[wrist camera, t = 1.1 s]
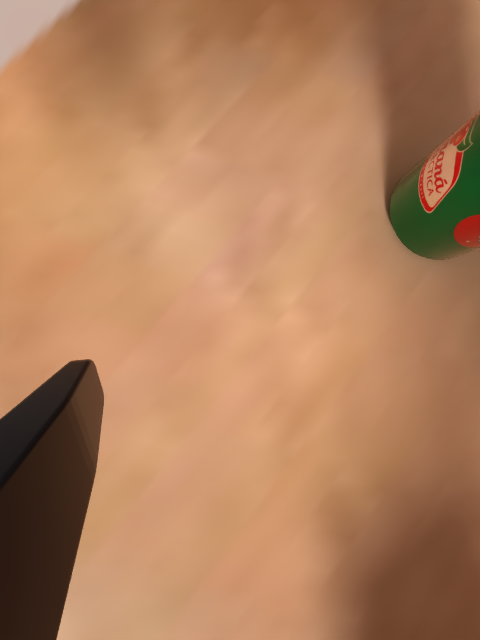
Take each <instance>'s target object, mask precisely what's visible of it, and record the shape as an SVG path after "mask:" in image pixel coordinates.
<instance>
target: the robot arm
mask: <svg viewBox="0 0 480 640" xmlns="http://www.w3.org/2000/svg"><path fill="white" fill-rule="evenodd" d="M103 406H104V394H103V389H102V386H101V383H100V379H99V376H98V373H97V369H96V366H95V364H94V362H93V361H92V360H90V359H87V360H75V361H71V362H69V363H68V364H66V365H65V366H64V367H63V368H62V369H60V370H59V371H58V372H57V373H55V374H54V375H53V376H52V377H51V378H49V379H48V380H47V381H46V382H45V383H43V384H42V385H41V386H40V387H39V388H37V389H36V390H35V391H34V392H33V393H31V394H30V395H29V396H28V397H27V398H25V399H24V400H23V401H22V402H20V403H19V404H18V405H17V406H16V407H14V408H13V409H12V410H11V411H10V412H8V413H7V414H6V415H5V416H4V417H2V418H1V419H0V640H56V639H57V635H58V631H59V626H60V622H61V618H62V614H63V609H64V605H65V601H66V597H67V593H68V588H69V584H70V580H71V576H72V572H73V567H74V563H75V559H76V555H77V550H78V546H79V542H80V538H81V534H82V529H83V525H84V521H85V517H86V513H87V508H88V504H89V500H90V496H91V492H92V487H93V483H94V478H95V473H96V467H97V460H98V451H99V442H100V433H101V424H102V415H103Z"/></svg>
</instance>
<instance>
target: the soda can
mask: <svg viewBox="0 0 480 640" xmlns="http://www.w3.org/2000/svg"><path fill="white" fill-rule="evenodd" d="M390 218H391V223H392V226H393V229H394V231H395V233H396V235H397V236H398V238H399V239H400V240H401V242H402V243H403V244H404V245H405V246H406V247H407V248H408V249H410V250H411V251H412V252H414V253H416V254H418V255H419V256H422V257H425V258H428V259H434V260H443V259H450V258H453V257H456V256H458V255H461V254H464V253H467V252H469V251H472V250H475V249H478V248H480V111H479V112H478V113H477V114H475V115H474V116H473V117H472V118H471V119H470V120H468V121H467V122H466V123H465V124H464V125H463V126H461V127H460V128H459V129H458V130H457V131H456V132H454V133H453V134H452V135H451V136H450V137H449V138H447V139H446V140H445V141H444V142H443V143H442V144H440V145H439V146H438V147H437V148H436V149H435V150H433V151H432V152H431V153H430V154H429V155H428V156H426V157H425V158H424V159H423V160H422V161H421V162H420V163H418V164H417V165H416V166H415V167H414V168H413V169H411V170H410V171H409V172H408V173H407V174H406V175H405V176H404V177H403V178H402V179H401V180H400V181H399V182H398V184H397V185H396V187H395V189H394V191H393V194H392V197H391V201H390Z"/></svg>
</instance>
